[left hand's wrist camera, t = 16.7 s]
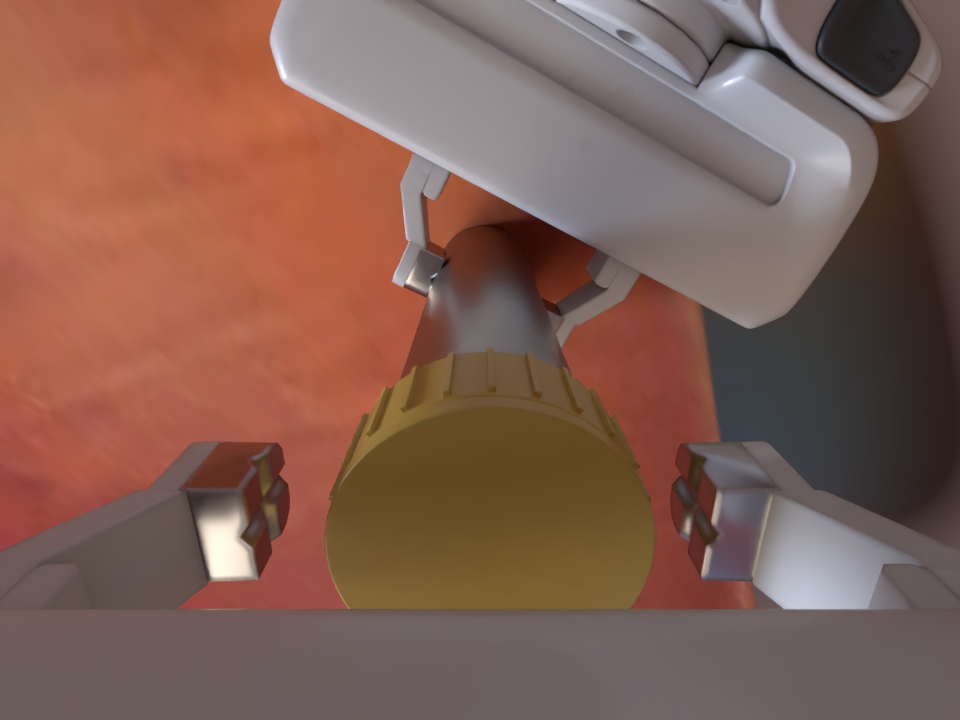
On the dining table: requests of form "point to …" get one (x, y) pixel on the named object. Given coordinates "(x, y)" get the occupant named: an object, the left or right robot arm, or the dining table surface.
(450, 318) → the grey metal cylinder
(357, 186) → the dining table surface
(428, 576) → the lid
